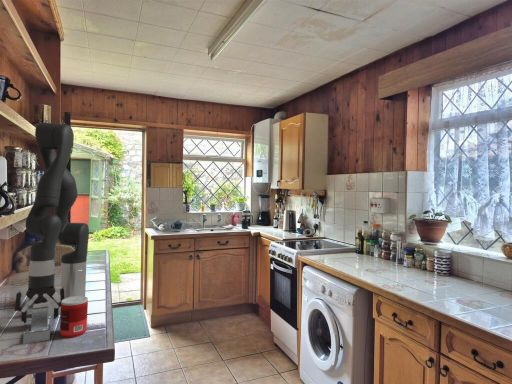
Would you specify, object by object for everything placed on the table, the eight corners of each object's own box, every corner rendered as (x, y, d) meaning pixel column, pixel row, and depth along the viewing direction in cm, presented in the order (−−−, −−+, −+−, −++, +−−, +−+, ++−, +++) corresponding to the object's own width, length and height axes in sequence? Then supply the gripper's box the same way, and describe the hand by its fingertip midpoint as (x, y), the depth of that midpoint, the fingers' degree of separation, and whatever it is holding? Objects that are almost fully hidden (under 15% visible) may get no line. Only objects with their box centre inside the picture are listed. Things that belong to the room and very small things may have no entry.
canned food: (90, 328, 115) (92, 296, 115) (79, 338, 107) (80, 303, 107) (68, 328, 114) (69, 295, 114) (54, 338, 106) (56, 303, 106)
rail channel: (26, 333, 109) (26, 323, 109) (50, 329, 112) (51, 320, 112) (23, 344, 101) (23, 334, 101) (49, 340, 105) (49, 330, 105)
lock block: (32, 324, 116) (33, 304, 116) (48, 322, 118) (49, 302, 119) (30, 331, 111) (31, 309, 111) (47, 328, 113) (48, 307, 113)
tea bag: (61, 315, 126) (62, 288, 126) (40, 317, 123) (41, 290, 123) (62, 311, 129) (63, 285, 129) (41, 313, 126) (42, 287, 126)
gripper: (66, 268, 122) (64, 313, 121) (18, 272, 115) (16, 319, 115) (65, 273, 115) (63, 320, 115) (14, 277, 108) (12, 327, 108)
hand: (40, 320), depth 115 cm, fingers open, 8 cm apart
